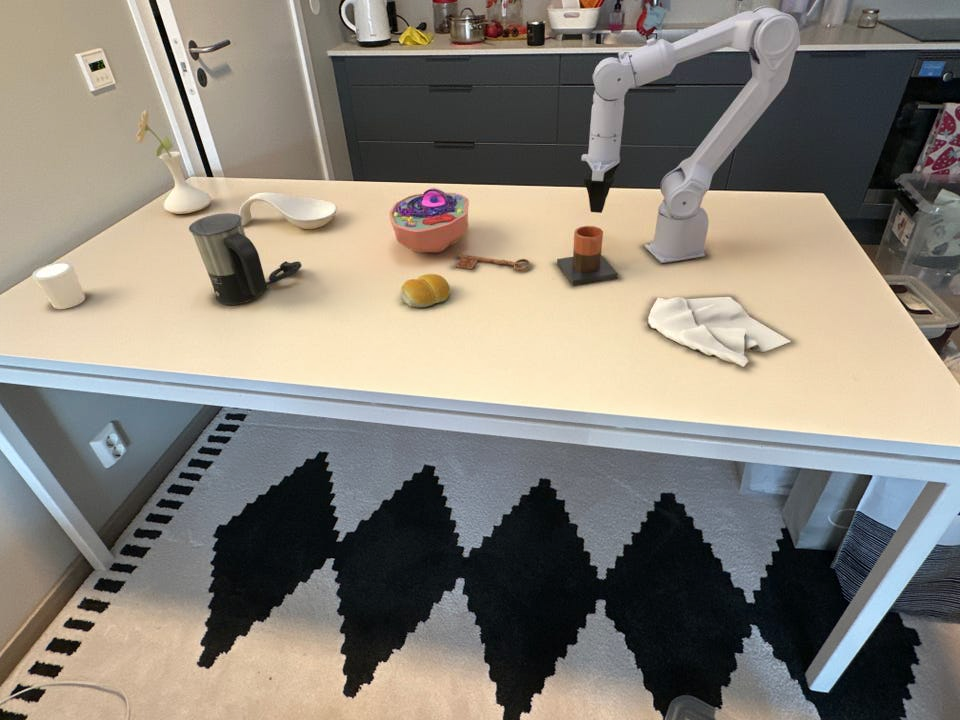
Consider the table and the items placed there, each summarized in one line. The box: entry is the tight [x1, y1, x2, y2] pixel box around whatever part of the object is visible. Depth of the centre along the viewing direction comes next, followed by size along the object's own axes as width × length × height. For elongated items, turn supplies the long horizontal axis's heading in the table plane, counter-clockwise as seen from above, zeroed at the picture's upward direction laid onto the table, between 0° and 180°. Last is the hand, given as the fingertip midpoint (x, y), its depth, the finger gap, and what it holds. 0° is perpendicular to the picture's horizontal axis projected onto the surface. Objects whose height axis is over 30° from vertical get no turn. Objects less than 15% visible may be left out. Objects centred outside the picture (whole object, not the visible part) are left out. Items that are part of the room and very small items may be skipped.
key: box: [455, 254, 531, 272], centre depth 117 cm, size 6×1×15 cm
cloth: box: [647, 296, 791, 368], centre depth 96 cm, size 20×22×2 cm
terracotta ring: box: [573, 225, 604, 256], centre depth 110 cm, size 5×5×4 cm
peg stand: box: [556, 236, 618, 287], centre depth 112 cm, size 9×9×7 cm
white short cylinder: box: [31, 261, 86, 310], centre depth 112 cm, size 7×7×7 cm
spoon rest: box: [238, 191, 338, 230], centre depth 137 cm, size 24×12×7 cm, turn 82°
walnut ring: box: [572, 249, 603, 273], centre depth 112 cm, size 5×5×4 cm
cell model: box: [388, 187, 470, 254], centre depth 123 cm, size 17×20×11 cm
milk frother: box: [188, 212, 303, 306], centre depth 111 cm, size 14×16×15 cm
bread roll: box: [400, 273, 451, 308], centre depth 108 cm, size 8×9×4 cm
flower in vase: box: [136, 109, 212, 215], centre depth 141 cm, size 13×11×25 cm
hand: (599, 203), depth 114 cm, fingers open, 7 cm apart
